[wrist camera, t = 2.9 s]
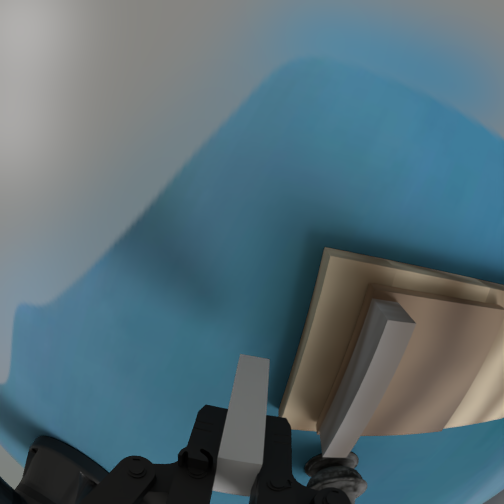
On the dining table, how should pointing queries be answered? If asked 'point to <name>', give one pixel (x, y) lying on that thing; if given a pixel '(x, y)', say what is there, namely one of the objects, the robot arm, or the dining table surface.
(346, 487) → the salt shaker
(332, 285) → the puzzle board
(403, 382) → the sliding cover
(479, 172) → the dining table surface
